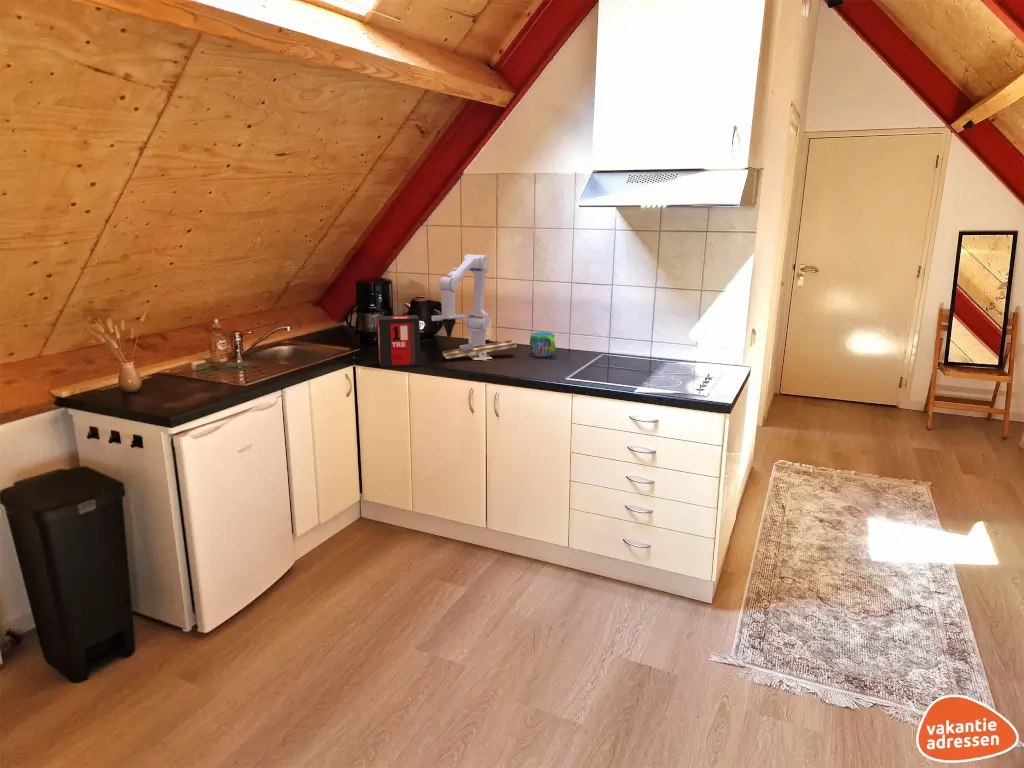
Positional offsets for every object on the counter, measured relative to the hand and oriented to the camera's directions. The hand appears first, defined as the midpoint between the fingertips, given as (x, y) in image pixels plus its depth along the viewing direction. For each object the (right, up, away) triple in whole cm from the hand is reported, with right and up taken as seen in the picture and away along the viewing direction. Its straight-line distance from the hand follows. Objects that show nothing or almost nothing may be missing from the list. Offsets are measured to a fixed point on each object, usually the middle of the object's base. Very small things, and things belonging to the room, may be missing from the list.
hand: (448, 336), depth 288 cm
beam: (+13, -6, +6) cm, 16 cm away
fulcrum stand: (+13, -9, +7) cm, 17 cm away
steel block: (+8, -6, +4) cm, 11 cm away
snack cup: (+41, -8, +12) cm, 43 cm away
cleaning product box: (-20, -12, -6) cm, 25 cm away
